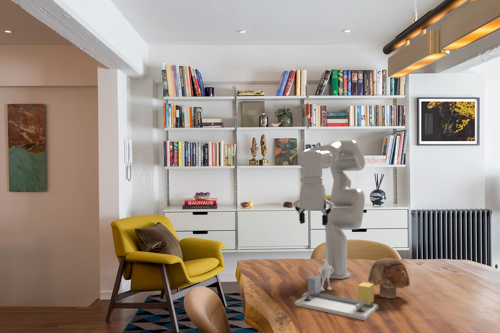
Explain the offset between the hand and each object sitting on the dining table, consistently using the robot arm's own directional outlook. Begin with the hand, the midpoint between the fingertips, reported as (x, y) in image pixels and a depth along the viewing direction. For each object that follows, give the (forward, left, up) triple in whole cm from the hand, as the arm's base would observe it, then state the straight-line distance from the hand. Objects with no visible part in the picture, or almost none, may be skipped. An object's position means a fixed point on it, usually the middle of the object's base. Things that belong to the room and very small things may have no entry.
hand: (313, 224), depth 155 cm
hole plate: (+9, +13, -28) cm, 32 cm away
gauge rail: (+9, +13, -27) cm, 31 cm away
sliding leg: (+9, +23, -26) cm, 36 cm away
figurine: (-7, +2, -28) cm, 29 cm away
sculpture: (-12, +26, -28) cm, 40 cm away
